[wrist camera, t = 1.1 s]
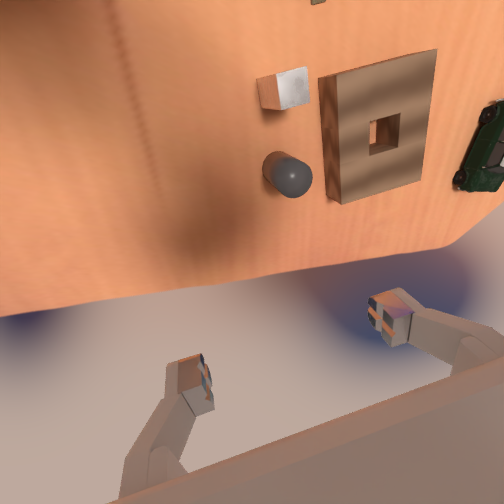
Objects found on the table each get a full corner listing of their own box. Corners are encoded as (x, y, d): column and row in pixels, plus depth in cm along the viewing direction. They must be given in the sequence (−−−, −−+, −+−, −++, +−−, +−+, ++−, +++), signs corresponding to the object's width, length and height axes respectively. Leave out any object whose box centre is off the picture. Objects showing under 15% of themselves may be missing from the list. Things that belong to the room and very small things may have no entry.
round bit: (259, 156, 47) (275, 167, 39) (289, 147, 47) (310, 156, 39) (265, 186, 50) (281, 202, 42) (293, 178, 50) (314, 192, 42)
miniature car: (447, 189, 60) (481, 200, 53) (486, 96, 51) (533, 96, 44) (478, 189, 62) (514, 200, 55) (521, 100, 53) (571, 100, 47)
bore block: (318, 78, 43) (336, 75, 38) (407, 54, 44) (437, 48, 39) (326, 194, 53) (341, 204, 48) (398, 172, 55) (420, 180, 50)
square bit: (256, 78, 41) (276, 73, 32) (280, 72, 41) (306, 65, 33) (261, 107, 43) (281, 110, 34) (284, 101, 43) (309, 102, 35)
